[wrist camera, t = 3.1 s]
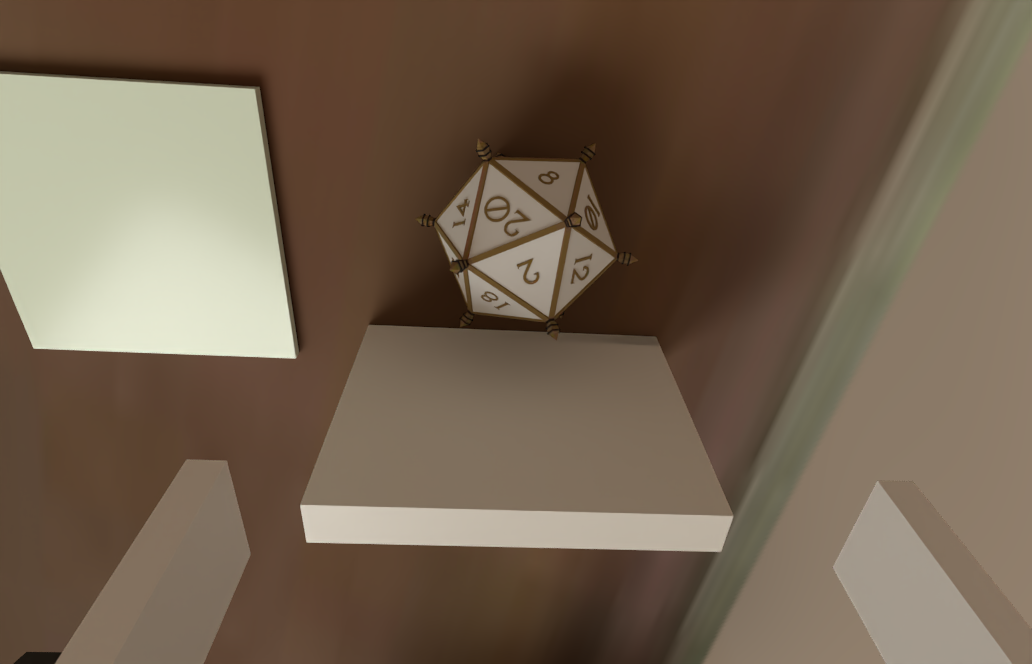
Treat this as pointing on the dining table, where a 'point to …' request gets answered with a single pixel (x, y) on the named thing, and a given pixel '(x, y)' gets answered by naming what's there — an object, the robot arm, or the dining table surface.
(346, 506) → the screen
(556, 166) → the game die
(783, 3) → the dining table surface
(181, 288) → the tile
